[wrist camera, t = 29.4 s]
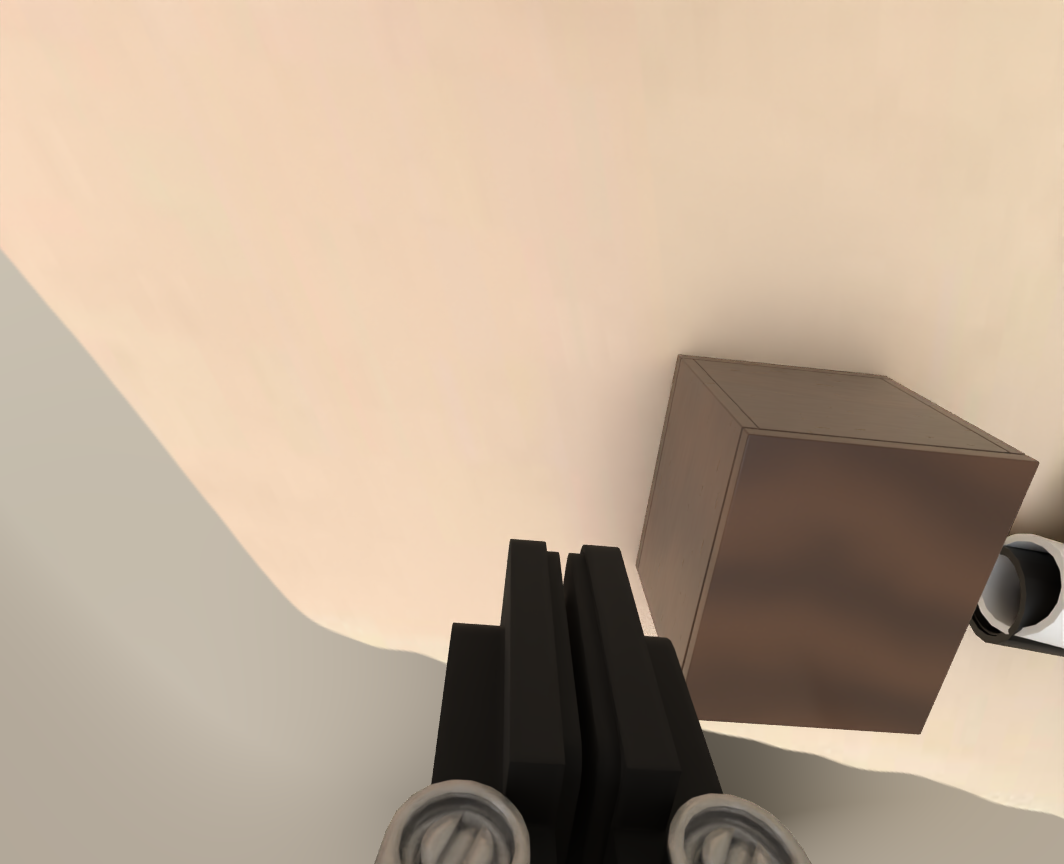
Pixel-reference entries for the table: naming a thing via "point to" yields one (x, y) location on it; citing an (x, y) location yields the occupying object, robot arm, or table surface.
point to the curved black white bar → (1024, 597)
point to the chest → (712, 443)
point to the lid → (846, 578)
